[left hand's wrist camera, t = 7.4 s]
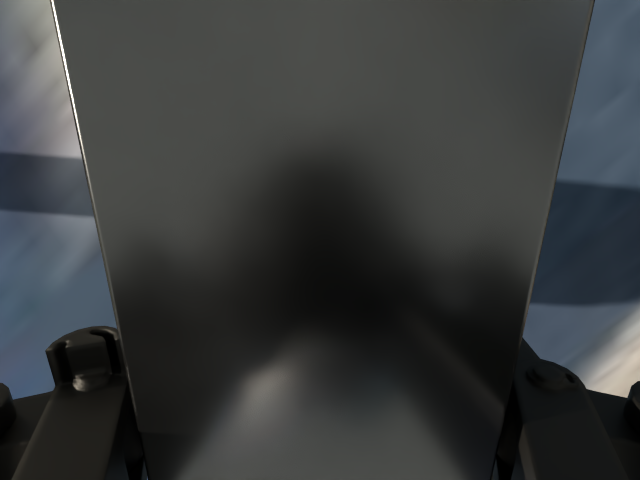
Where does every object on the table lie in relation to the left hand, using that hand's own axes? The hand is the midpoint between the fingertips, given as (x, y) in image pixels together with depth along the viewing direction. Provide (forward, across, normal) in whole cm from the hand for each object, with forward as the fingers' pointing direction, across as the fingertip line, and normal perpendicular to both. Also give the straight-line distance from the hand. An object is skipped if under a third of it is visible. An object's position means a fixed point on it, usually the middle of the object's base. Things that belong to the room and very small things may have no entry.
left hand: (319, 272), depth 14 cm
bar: (+1, 0, -11) cm, 11 cm away
